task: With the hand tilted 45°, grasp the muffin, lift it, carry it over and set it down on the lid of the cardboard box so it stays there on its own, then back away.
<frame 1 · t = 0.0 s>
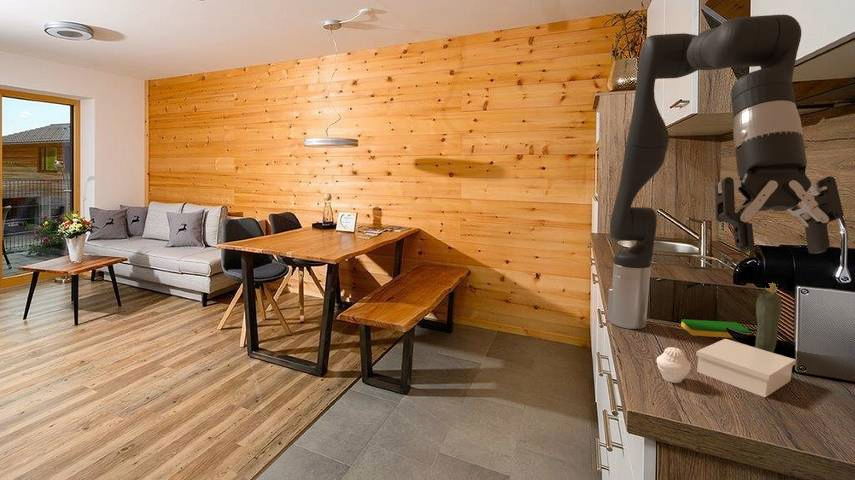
hand: (781, 252, 55), 31 cm above the worktop, tool tilted 20°, fingers open, 8 cm apart
vegetable: (761, 361, 92), on the worktop
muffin: (671, 380, 83), on the worktop
cardboard box: (742, 377, 85), on the worktop
dish sponge: (713, 334, 109), on the worktop
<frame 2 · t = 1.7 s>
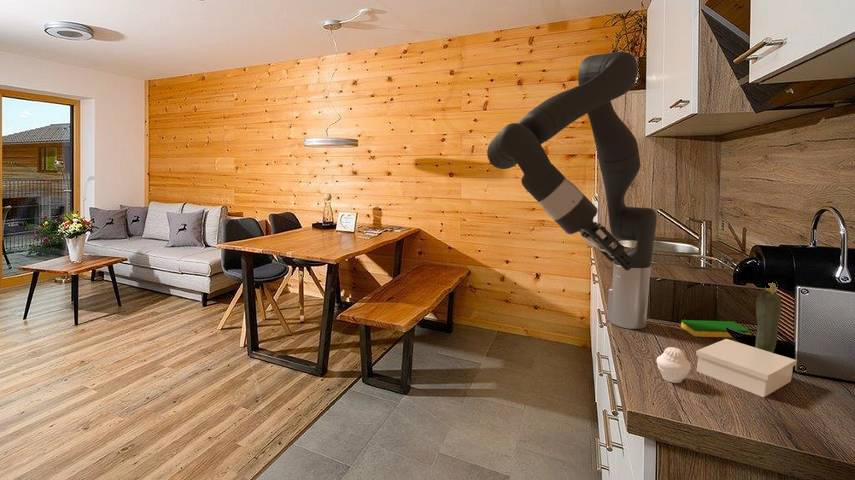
hand: (622, 262, 81), 24 cm above the worktop, tool tilted 45°, fingers open, 8 cm apart
nothing on the worktop moved.
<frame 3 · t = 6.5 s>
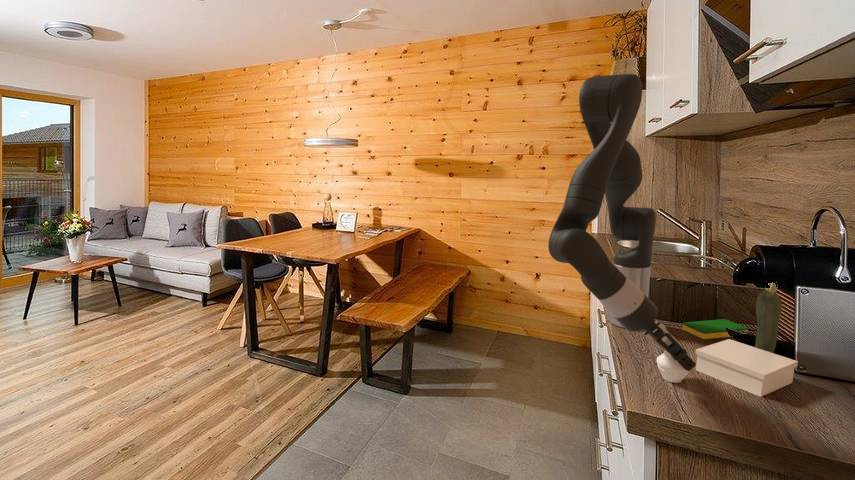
hand: (682, 359, 83), 4 cm above the worktop, tool tilted 45°, fingers closed on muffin, 6 cm apart
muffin: (671, 380, 83), on the worktop, touching gripper
when the fingers open (11 cm above the worktop, at t = 12.3 s): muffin drops 2 cm, resting on cardboard box.
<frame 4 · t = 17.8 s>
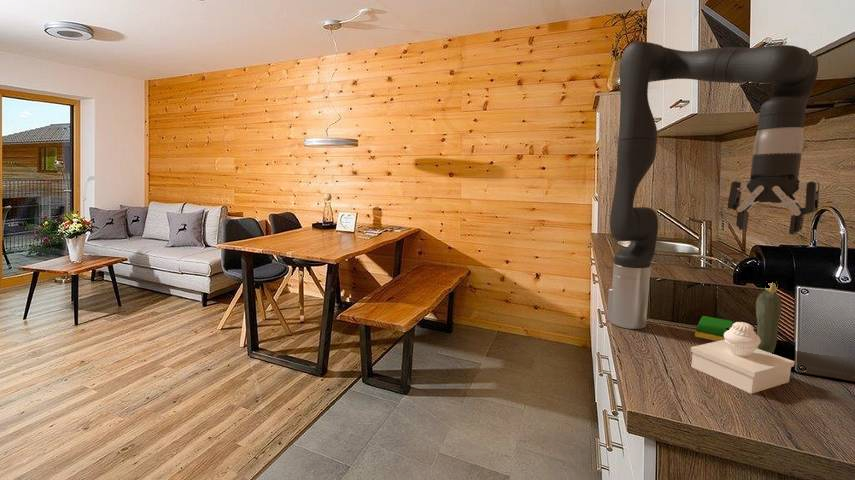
hand: (766, 231, 84), 30 cm above the worktop, tool pointing down, fingers open, 8 cm apart
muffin: (740, 354, 85), point 4 cm above the worktop, touching cardboard box
cardboard box: (737, 376, 85), on the worktop, touching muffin
at the end: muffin inside the target area on the cardboard box (0.0 cm from its centre), point 4.9 cm above the cardboard box's base; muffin tilted 2°; the gripper is holding nothing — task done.
